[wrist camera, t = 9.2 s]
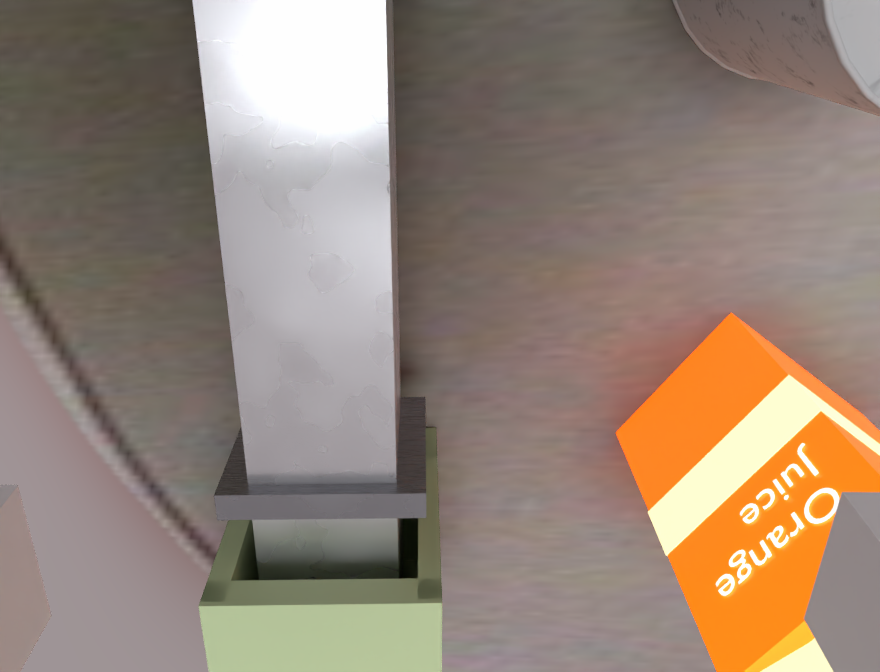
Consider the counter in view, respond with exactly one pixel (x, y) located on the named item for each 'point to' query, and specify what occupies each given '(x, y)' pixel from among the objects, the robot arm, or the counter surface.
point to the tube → (312, 283)
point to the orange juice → (748, 491)
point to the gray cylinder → (794, 44)
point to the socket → (328, 607)
